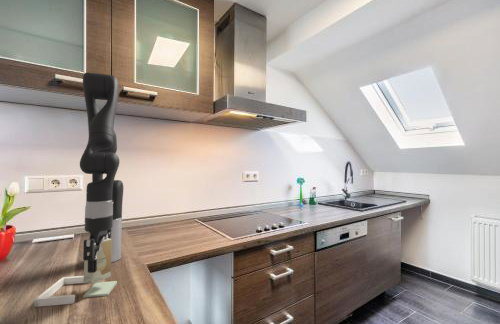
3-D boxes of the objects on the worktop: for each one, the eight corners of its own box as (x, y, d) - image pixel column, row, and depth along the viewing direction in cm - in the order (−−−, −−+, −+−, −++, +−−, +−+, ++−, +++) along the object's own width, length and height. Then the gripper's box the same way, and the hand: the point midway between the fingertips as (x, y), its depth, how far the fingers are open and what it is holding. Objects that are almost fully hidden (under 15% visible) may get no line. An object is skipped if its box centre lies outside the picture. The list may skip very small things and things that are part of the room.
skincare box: (92, 285, 71) (93, 244, 71) (82, 282, 73) (83, 242, 73) (111, 276, 77) (112, 238, 77) (102, 273, 79) (103, 236, 79)
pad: (95, 284, 78) (95, 282, 78) (117, 282, 79) (117, 280, 79) (83, 297, 70) (83, 295, 70) (107, 295, 72) (107, 293, 72)
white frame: (62, 283, 79) (62, 277, 79) (94, 280, 81) (94, 274, 81) (34, 307, 65) (34, 299, 65) (73, 303, 67) (73, 296, 67)
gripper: (96, 210, 81) (95, 258, 81) (73, 219, 67) (72, 278, 67) (120, 210, 83) (119, 257, 83) (102, 219, 69) (101, 276, 68)
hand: (98, 266), depth 75 cm, fingers closed on skincare box, 7 cm apart
